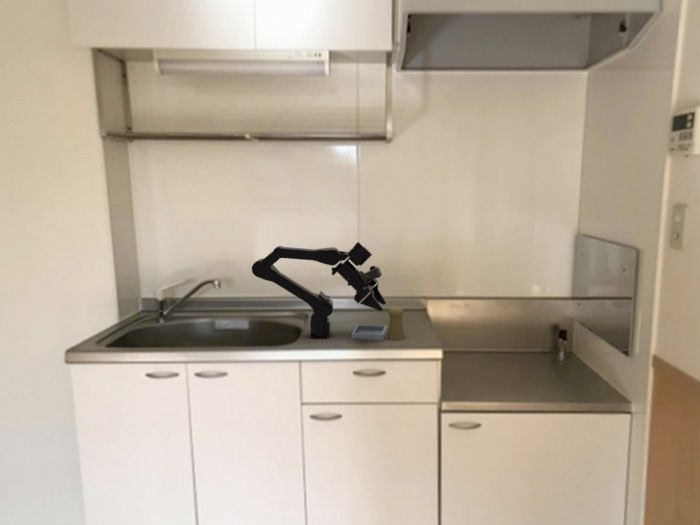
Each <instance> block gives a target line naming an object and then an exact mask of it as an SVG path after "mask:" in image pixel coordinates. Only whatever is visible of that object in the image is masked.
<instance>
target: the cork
mask: <svg viewBox="0 0 700 525" xmlns="http://www.w3.org/2000/svg"><path fill="white" fill-rule="evenodd" d="M388 315H389V321H388V328H387V339H388V340H390V341H403V340H404V339H405V338H406V337H405V329H404V323H403V322H404V321H403V315H404V308H402V307H401V306H391V307H389V308H388Z"/></svg>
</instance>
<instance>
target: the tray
mask: <svg viewBox="0 0 700 525" xmlns="http://www.w3.org/2000/svg"><path fill="white" fill-rule="evenodd" d="M387 333H388V327H387V325H374V324H373V325H368V324H366V325H365V324H357V325H356V327H355V328H354V330H353V331H352V333H351V340H353V339H354V340H356V341H357V340H358V341H376V342H377V341H379V342H382V341H384V338H385V336H386V335H387Z"/></svg>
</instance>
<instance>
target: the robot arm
mask: <svg viewBox="0 0 700 525" xmlns="http://www.w3.org/2000/svg"><path fill="white" fill-rule="evenodd" d="M372 256H373V254H372V252H370V250H368V248H366V247H365V246H363V244H362V243H360V242H359V241H357V242H356V243H355V244H354V246H353V247H351V248H350V250H349V251H342V250H339V249H338V247H337V248H336V247H333V246H331V247H324V248H323V247H322V248H315V249H314V248H312V249H311V248H302V247H289V246H282V245H278V246H276V247H275V248H273V251H271V252H270V253H269V254H268V255H267V256H266V257H264V258H259V259H258V260H256V261H254V263H253V264H252V266H251V273H252V274H253V275H254V277H256V278H259V279H262V280H264V281H268V282H272V283H274V284H275V285H277V286H279V287H281V288H282V289H284V290H285V291H287V292H289V294H292V295H293V296H295V297H297V298H299V299H300V300H301V301H303V302H304V303H306V304H308V306H309V307H310V308H311V309H312V311H311V315H310V324H309V325H310V335H309V338H310V339H328V338H329V337H330V335H331V334H332V323H331V322H330V317H329V316H331V315H332V314H333V310H334V302H333V300H332V299H331V296H330V295H327V294H325V293H324V292H322V291H319V293H315V292H313V291H311V290H310V289H309V288H306V287H305V286H303V285H301V284H300V283H298V282H297V281H295V280H293V278H290V277H289V276H288V275H285V274H284V273H282V272H280V270H279V269H278V268H277V267H276V266H275V265H274V264H276V263H277V262H278V261H279V260H280V259H289V260H301V261H302V260H303V261H304V260H305V261H314V262H318V263H320V264H322V265H327V266H335V265H336V266H335V267H331V276H335V275H336V274H338V275H340V277H342V279H344V280H345V282H347V286H348V287H350V286H351V287H352V289H353V290H355V295H354V296H353V300H354V301H355V303H357V304H360V305H363V306H366V307H369V308H371V309H374V310H377V311H379V312H382V310H383V309H384V308H383V307H382V306H381V305H386V304H387V302H386V300H385V298H384V296H383V294H382V293H381V292H380V290H379V285H380V284H379V280H377V279H379V278H381V277H382V276H383V275H382V274H383V273H382V272H381V269H380V268H379V266H376V265H372V266H370V267H369V270H368V271H366V272H364V271H362V270H359V269H357V268H356V267H359V266H360V267H361V266H363V265H364V264H365V263H366V262H367V261H368V260H369V259H370V258H371V257H372ZM343 261H344V262H343ZM351 262H352V263H351Z"/></svg>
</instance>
